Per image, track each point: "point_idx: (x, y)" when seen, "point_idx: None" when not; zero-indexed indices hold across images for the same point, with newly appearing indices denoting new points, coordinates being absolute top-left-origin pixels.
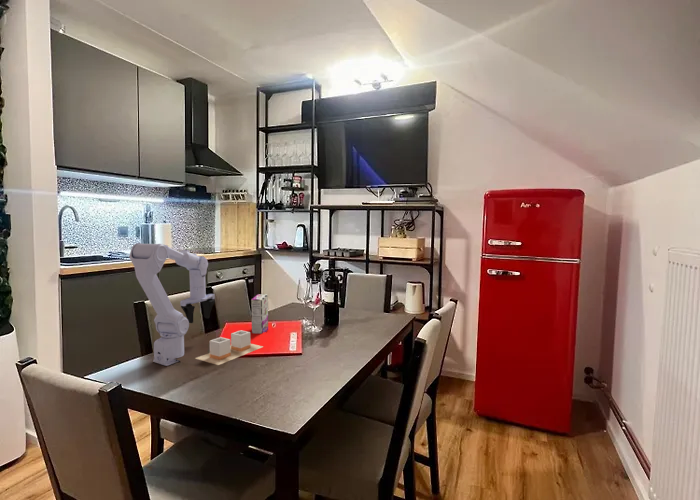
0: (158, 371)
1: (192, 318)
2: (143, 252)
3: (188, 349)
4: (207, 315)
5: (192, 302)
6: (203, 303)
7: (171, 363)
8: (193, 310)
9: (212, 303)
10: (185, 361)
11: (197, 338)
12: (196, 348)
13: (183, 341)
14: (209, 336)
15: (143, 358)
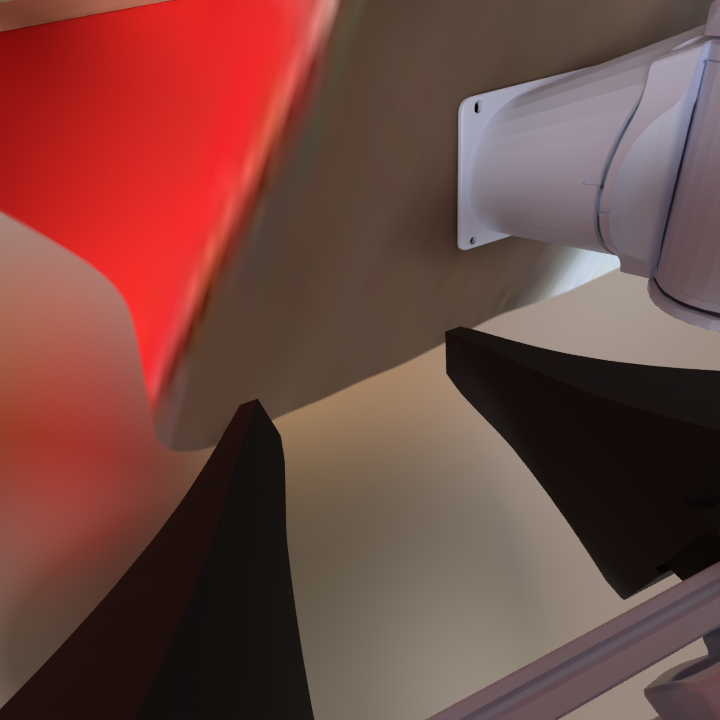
0: (666, 14)
1: (492, 342)
2: None
3: (385, 277)
4: (258, 429)
5: (712, 631)
6: (292, 660)
7: (581, 69)
8: (612, 393)
9: (66, 699)
10: (506, 55)
11: (284, 408)
12: (348, 264)
13: (590, 88)
14: (220, 410)
15: (546, 289)
